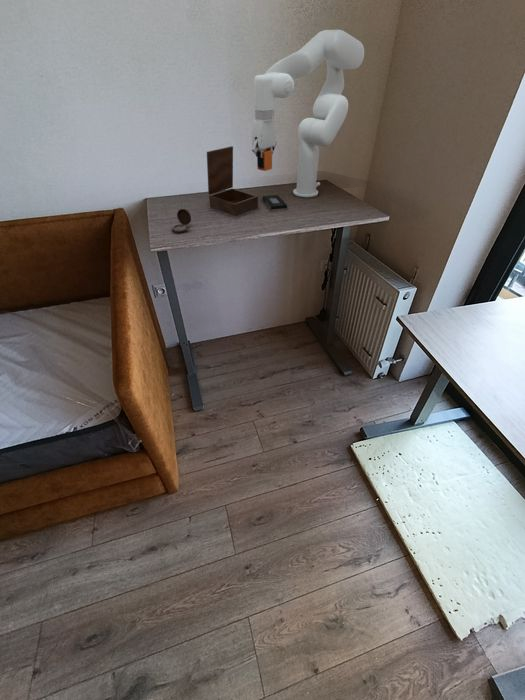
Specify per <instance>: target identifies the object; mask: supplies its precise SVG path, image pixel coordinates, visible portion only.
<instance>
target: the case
mask: <svg viewBox="0 0 525 700" xmlns="http://www.w3.org/2000/svg"><path fill="white" fill-rule="evenodd" d="M208 198H209V208H211V209H213V210H217V211H219V212H222V213H224V214H228V215H230V216H232V217H238V216H240V215H244V214H246V213H249V212H250V211H254V210H256V209H258V208H259V196H258V195H256V194H253V193H249V192H246V191H243V190H239V189H236V188H234V187H233V188H229V189H226V190H223V191H220V192H217V193H214V194H211V195H208Z"/></svg>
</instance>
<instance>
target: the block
mask: <svg viewBox="0 0 525 700" xmlns="http://www.w3.org/2000/svg"><path fill="white" fill-rule="evenodd" d="M259 152H260V150H259ZM263 158H264V168H259V167H258V166H257V170H259V171H263V172H266V171H269V170H272V169H273V155H272V150H267V149H264V150H263Z"/></svg>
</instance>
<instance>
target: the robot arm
mask: <svg viewBox="0 0 525 700" xmlns="http://www.w3.org/2000/svg"><path fill="white" fill-rule="evenodd" d="M364 58H365V47H364V45H363V43H362V42H361V41H360V40H358V39H357V38H355V37H354V36H353V35H351V34H349V33H348V32H346V31H345V30H342V29H324V30H321V31H319V32H317V34H315V35H314V36H313V37H312V38H311V39H309V41H307V42H306V43H305V44H304V45H303V46H302V47H301V48H300V49H299V50H296V51H295V52H293V53H291V54H289V55H287V56H286V57H284V58H282V59H280V60H278V61H277V62H275V63H274V64H273V65H271V66H270V67H269V68H268V69H267V70H266V71H265V72H264V73H263V74H257V75H256V76H254V79H253V92H254V93H253V94H254V120H253V121H252V123H253V124H252V131H251V140H252V141H251V147H252V148H251V152H253V153H254V155H255V157H256V158H257V159H256V160H257V165H256V166H257V168H258V167H259V168H264V158H263V150H264V149H267V150H272V156H273V155H274V151H275V148H276V146H277V145H278V143H277V140H276V139H277V136H276V135H277V134H276V132H277V131H276V121H275V99H279V98H280V99H286V98H288V97H290V96H291V95H292V94H293V91H294V89H295V81H294V79H295V80H296V79H300V78H304V77H307V76H309V75H310V74H311V73H312V72H313V71H315V69H317V68H318V67H319V66H320V65H321V64H322V63H323V62H324V61H325V62H326V79H325V82H324V84H323V86H322V88H321V90H320V92H319V94H318V96H317V97H316V99H315V101H314V104H313V107H312V115H313V116H314V117H306V118H304V119H303V120H302V121H300V123H299V125H298V129H297V137H298V158H297V159H298V160H297V161H298V162H297V175H296V188H294V189H293V190H292V194H293V195H294V196H296V197H298V198H314V197H317V196H318V195H319V190H318V189H317V188H318V187H320V186H321V182H320V181H317V177H318V168H319V159H320V150H319V146H320V147H328V146H329V145H331V144H332V142H333V141H334V140H335V138H336V137H337V134H338V132H339V130H340V129H341V127H342V125H343V124H344V122H345V120H346V117H347V115H348V111H349V101H348V99H347V97H346V96H344V95H343V94H342V93H343V91H344V88H345V77H344V76H345V75H344V70H356V69H358V68H360V66H361V65H362V63H363V62H364ZM259 150H260V152H259Z"/></svg>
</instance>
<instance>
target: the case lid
mask: <svg viewBox="0 0 525 700" xmlns="http://www.w3.org/2000/svg"><path fill="white" fill-rule="evenodd" d="M206 168H207V169H206V170H207V190H208V191H207V192H208V196H210V195H213V194H216V193H219V192H222V191H225V190H228V189H232V188H233V189H234V186H233V185H234V146H233V145H231V146H226V147H221V148H217V149H213V150H208V151H206Z"/></svg>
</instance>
